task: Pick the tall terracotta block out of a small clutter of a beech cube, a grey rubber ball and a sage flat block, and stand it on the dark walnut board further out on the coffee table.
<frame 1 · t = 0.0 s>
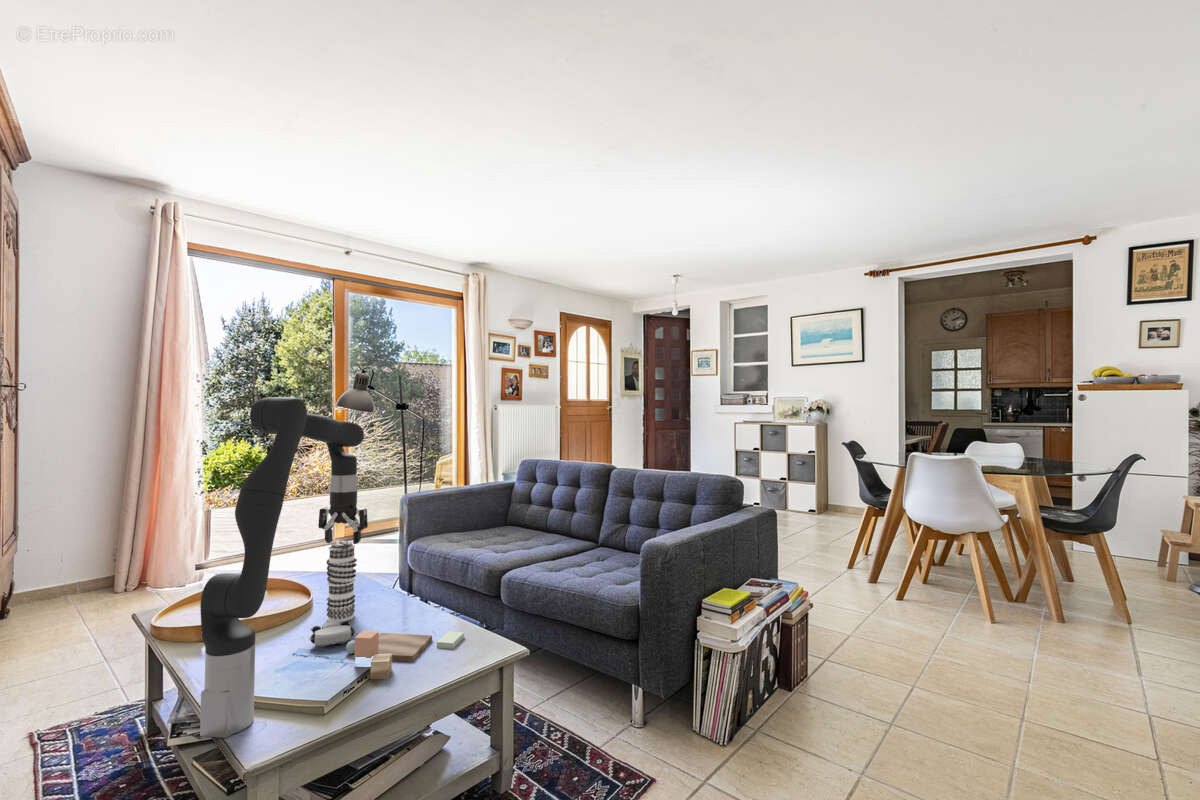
hand: (342, 543, 167), 29 cm above the table, fingers open, 8 cm apart
robot toy: (331, 641, 167), on the table
beech cube: (381, 674, 146), on the table
terracotta block: (366, 663, 152), on the table
walnut board: (396, 649, 161), on the table
grey banded tower model: (340, 618, 185), on the table
grey ball: (352, 647, 158), point 2 cm above the table
sage flat block: (450, 643, 167), on the table
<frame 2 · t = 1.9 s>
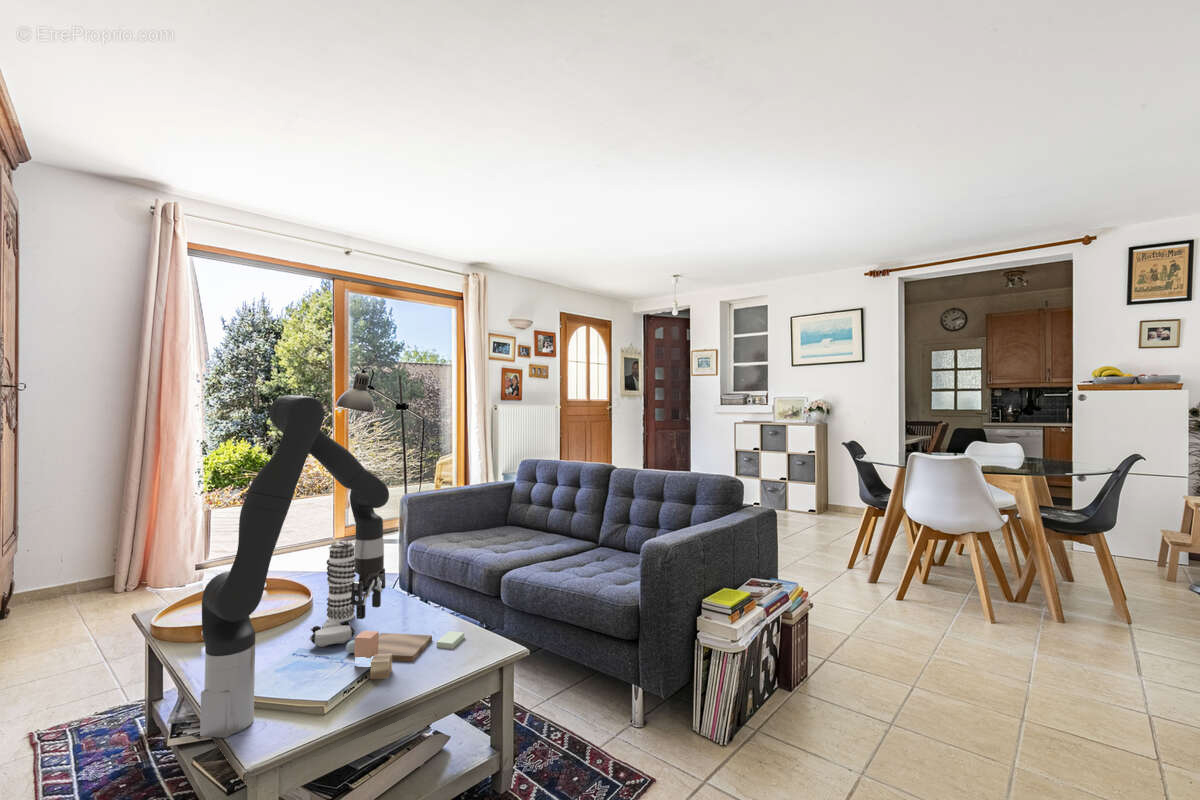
hand: (368, 612, 153), 14 cm above the table, fingers open, 8 cm apart
nothing on the table moved.
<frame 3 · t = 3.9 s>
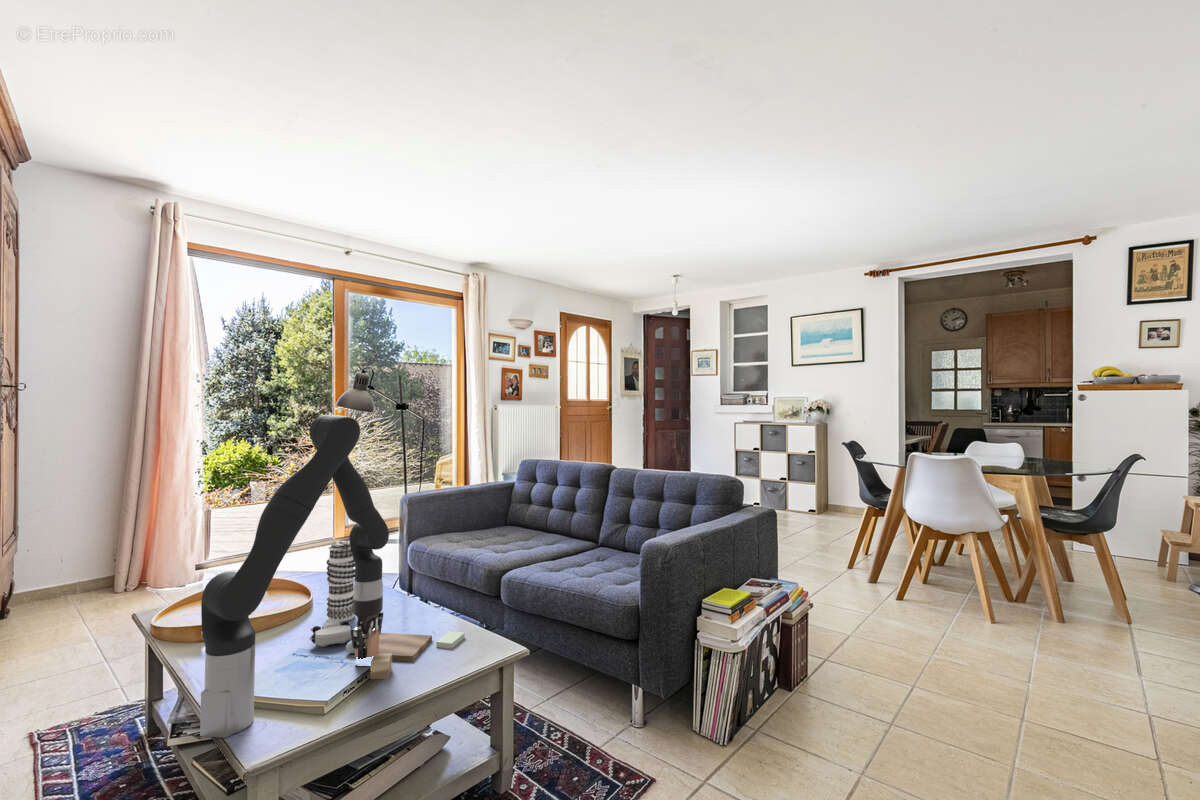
hand: (367, 657, 153), 2 cm above the table, fingers closed on terracotta block, 4 cm apart
terracotta block: (366, 662, 153), on the table, touching gripper, walnut board
everything else where it was.
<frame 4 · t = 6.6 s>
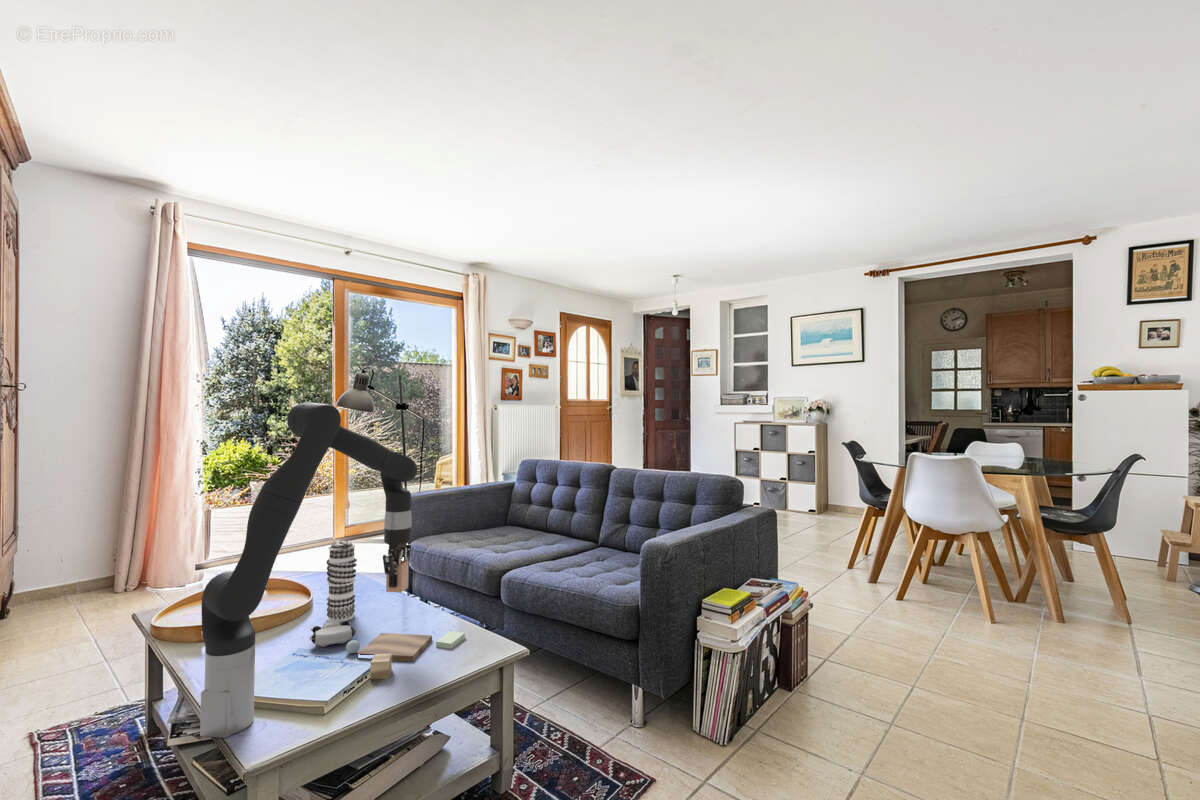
hand: (397, 584, 162), 19 cm above the table, fingers closed on terracotta block, 4 cm apart
terracotta block: (397, 589, 162), point 17 cm above the table, touching gripper
everything else where it was.
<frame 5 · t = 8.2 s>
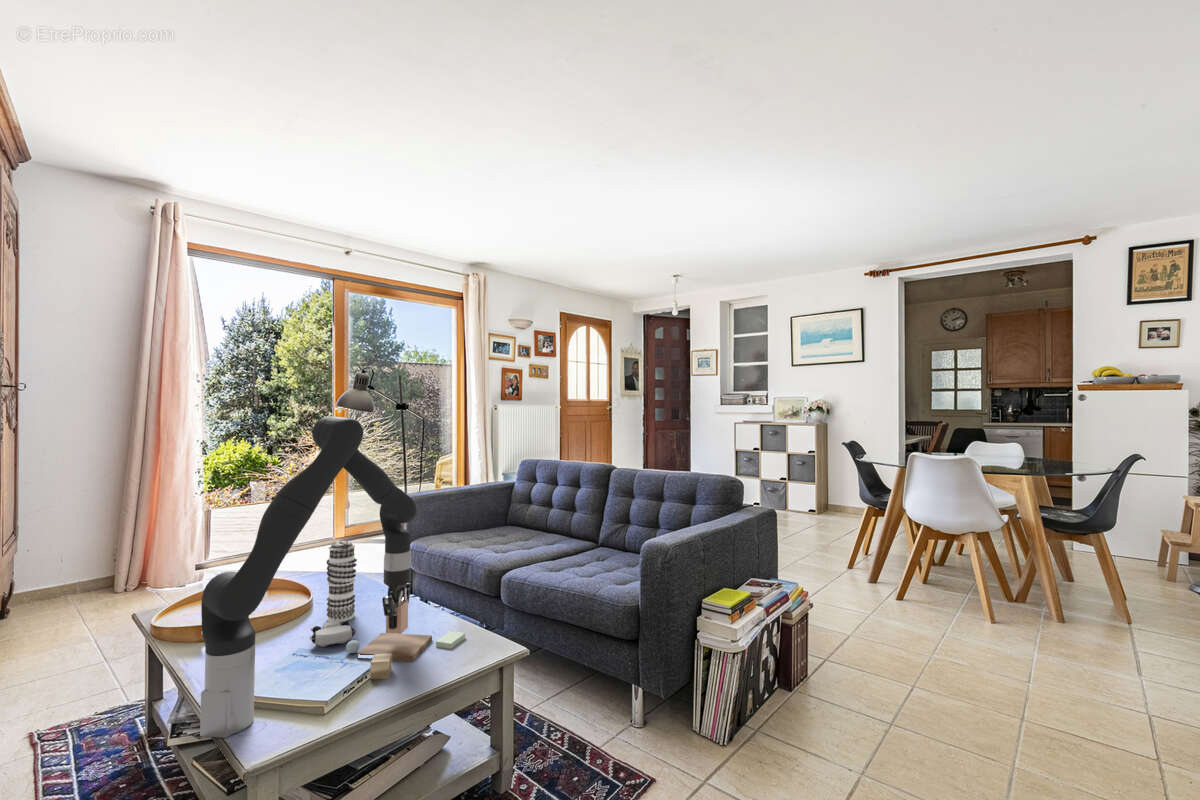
hand: (396, 624, 162), 7 cm above the table, fingers closed on terracotta block, 4 cm apart
terracotta block: (396, 630, 162), point 6 cm above the table, touching gripper
everything else where it was.
when the fingers open (4 cm above the table, at t = 9.5 s): terracotta block drops 1 cm, resting on walnut board.
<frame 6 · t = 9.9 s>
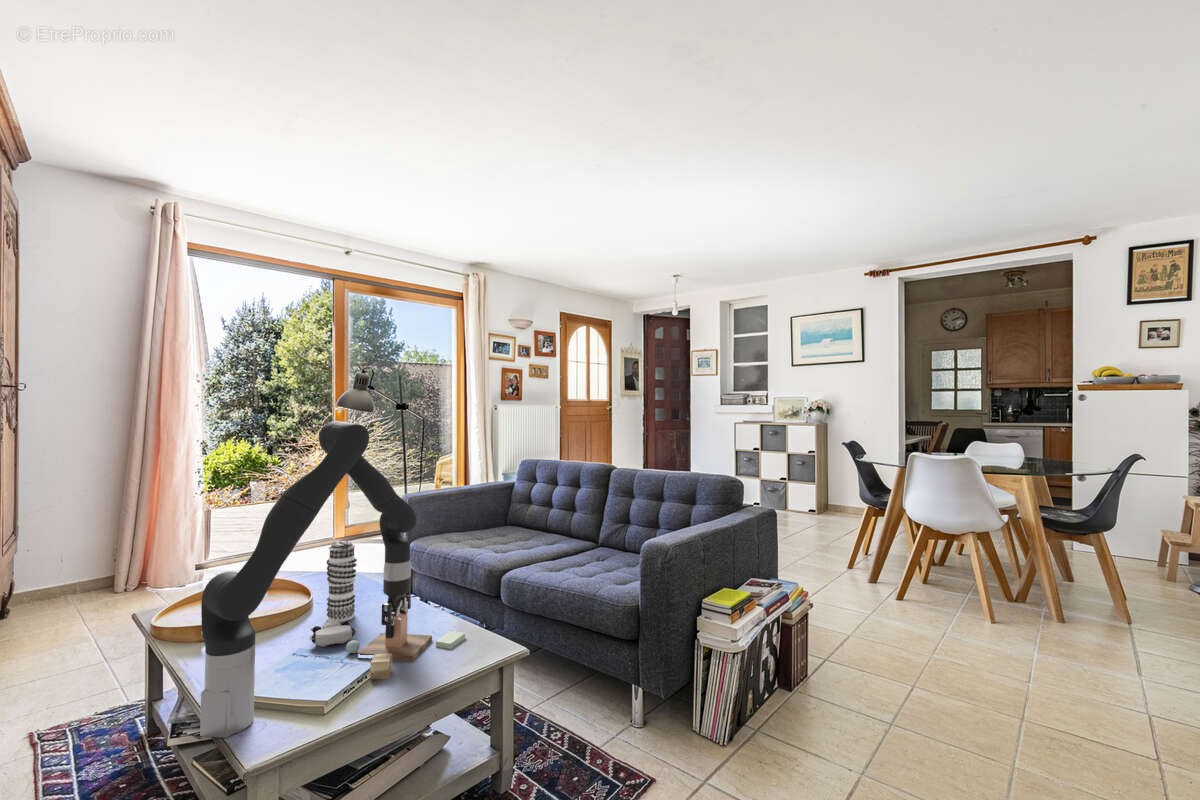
hand: (396, 632, 162), 5 cm above the table, fingers open, 7 cm apart
terracotta block: (396, 644, 161), point 1 cm above the table, touching walnut board
everything else where it was.
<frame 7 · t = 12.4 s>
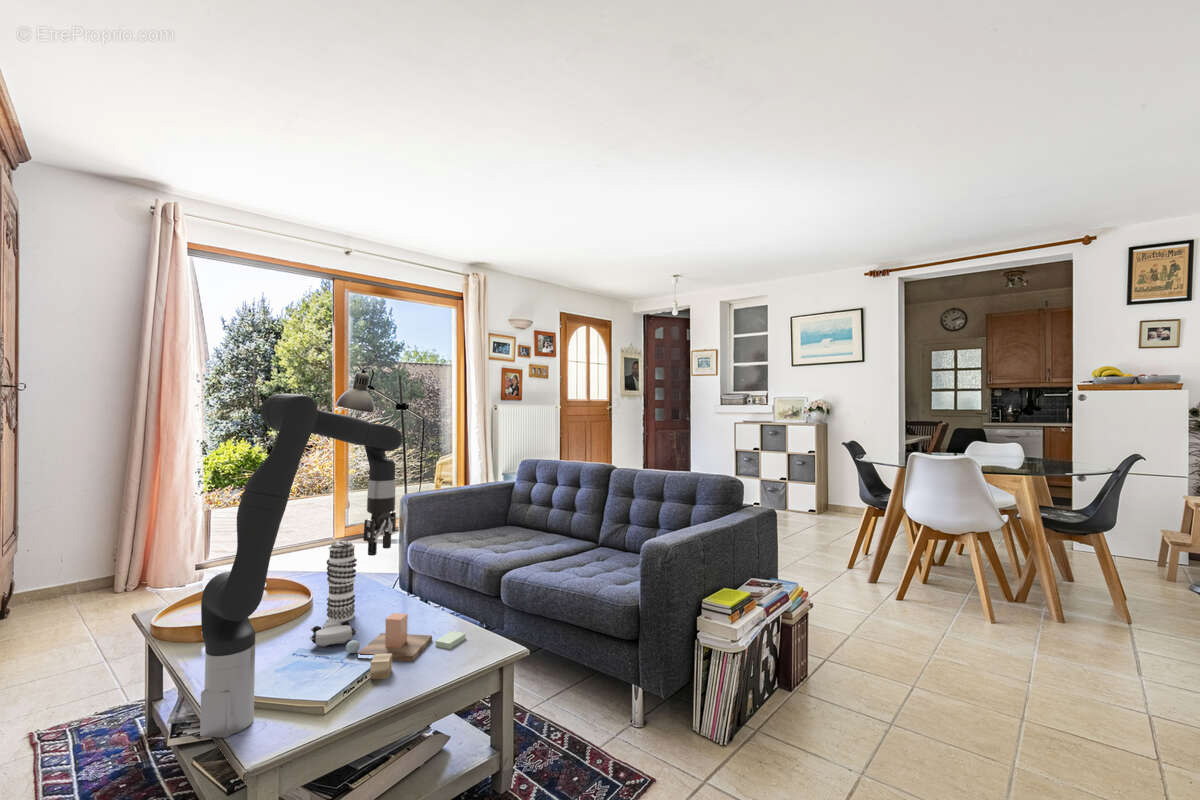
hand: (379, 551, 160), 29 cm above the table, fingers open, 8 cm apart
nothing on the table moved.
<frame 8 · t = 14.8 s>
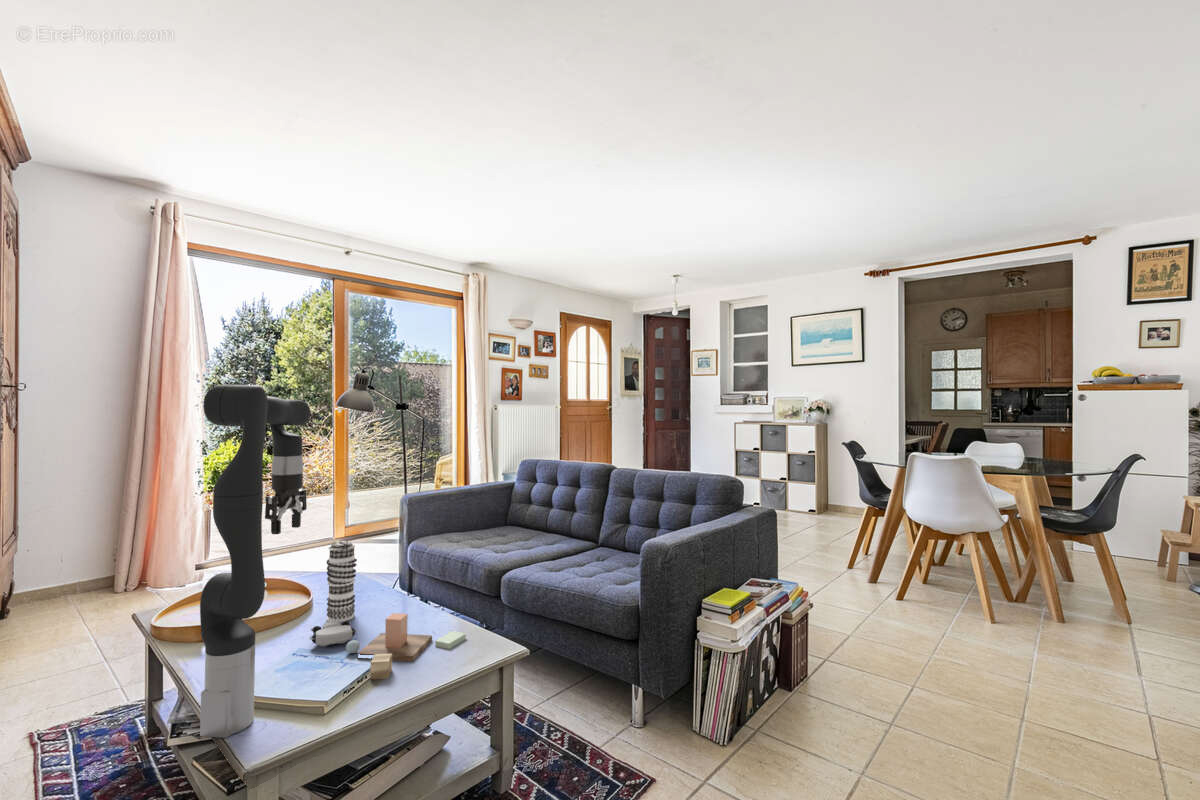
hand: (286, 530, 153), 36 cm above the table, fingers open, 8 cm apart
nothing on the table moved.
at the end: terracotta block inside the target area on the walnut board (0.0 cm from its centre), point 1.5 cm above the walnut board's base; terracotta block tilted 0°; the gripper is holding nothing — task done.
